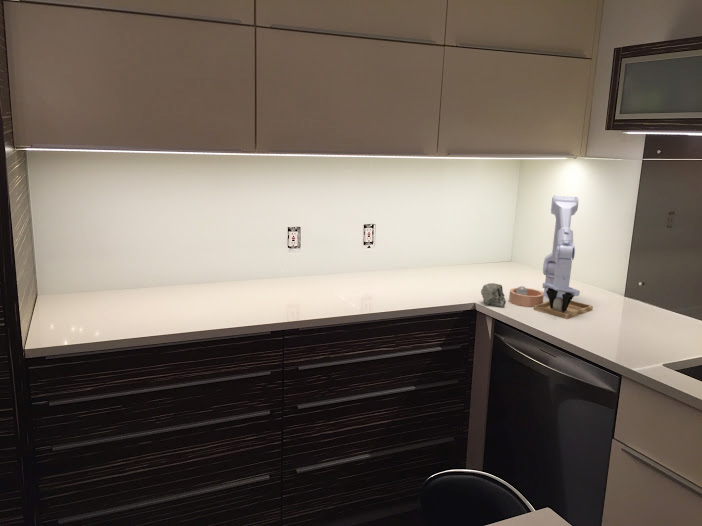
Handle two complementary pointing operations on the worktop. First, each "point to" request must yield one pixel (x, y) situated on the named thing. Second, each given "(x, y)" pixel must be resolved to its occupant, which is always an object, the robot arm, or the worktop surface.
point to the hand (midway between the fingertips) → (558, 309)
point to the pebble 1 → (521, 290)
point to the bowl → (526, 297)
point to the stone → (493, 294)
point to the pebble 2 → (558, 304)
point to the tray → (571, 311)
